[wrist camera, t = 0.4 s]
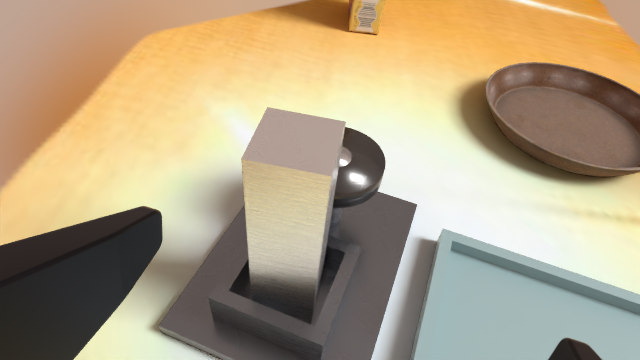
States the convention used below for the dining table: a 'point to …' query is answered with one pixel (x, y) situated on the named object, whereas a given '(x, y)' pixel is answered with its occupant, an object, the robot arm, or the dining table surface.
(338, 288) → the grey socket fixture
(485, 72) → the dining table surface
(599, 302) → the tray
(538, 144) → the plant saucer
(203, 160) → the dining table surface
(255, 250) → the pin
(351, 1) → the candy box
